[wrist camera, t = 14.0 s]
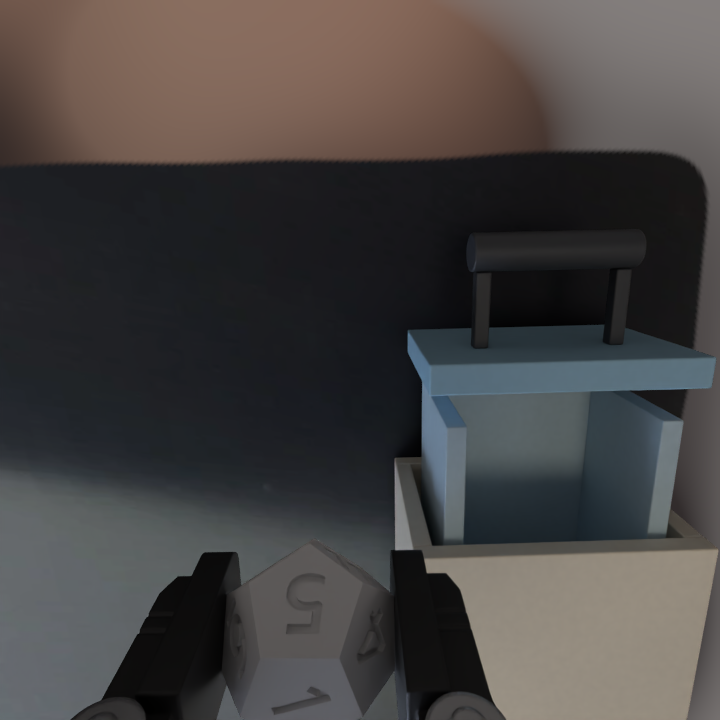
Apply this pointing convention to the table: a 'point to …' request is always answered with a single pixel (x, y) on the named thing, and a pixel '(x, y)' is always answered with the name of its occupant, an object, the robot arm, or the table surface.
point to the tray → (549, 408)
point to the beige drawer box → (576, 615)
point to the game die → (308, 639)
